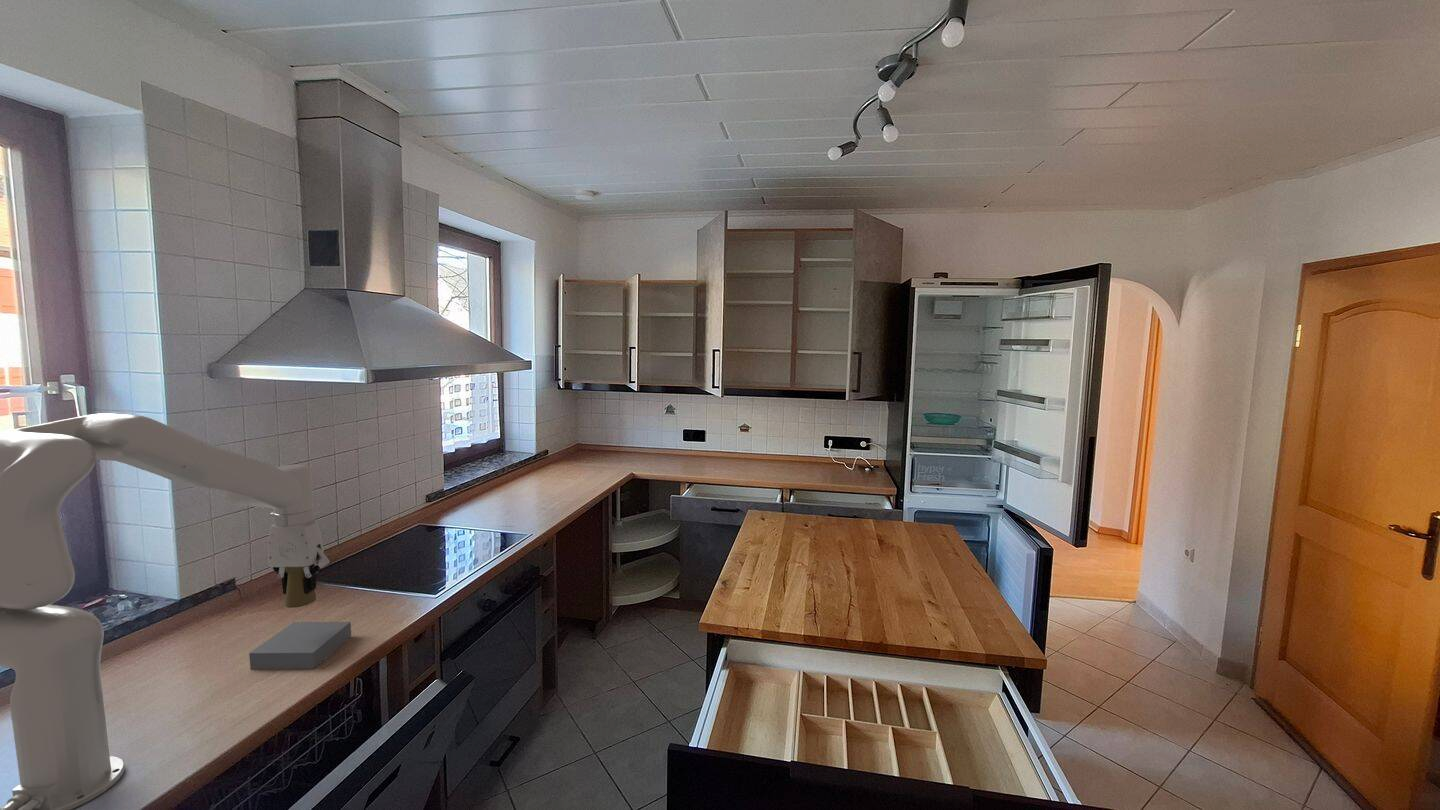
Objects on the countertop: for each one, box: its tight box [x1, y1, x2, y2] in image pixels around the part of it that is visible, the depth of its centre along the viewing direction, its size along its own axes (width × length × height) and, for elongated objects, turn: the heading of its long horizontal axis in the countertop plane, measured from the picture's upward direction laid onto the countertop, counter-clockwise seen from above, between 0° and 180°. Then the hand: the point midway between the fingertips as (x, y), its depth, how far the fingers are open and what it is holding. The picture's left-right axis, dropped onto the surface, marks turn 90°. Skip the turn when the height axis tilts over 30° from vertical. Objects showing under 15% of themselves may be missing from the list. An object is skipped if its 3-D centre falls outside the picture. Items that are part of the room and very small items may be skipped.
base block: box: [248, 621, 352, 671], centre depth 133 cm, size 14×14×4 cm
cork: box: [284, 566, 317, 609], centre depth 131 cm, size 6×6×11 cm
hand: (299, 590), depth 131 cm, fingers closed on cork, 4 cm apart
